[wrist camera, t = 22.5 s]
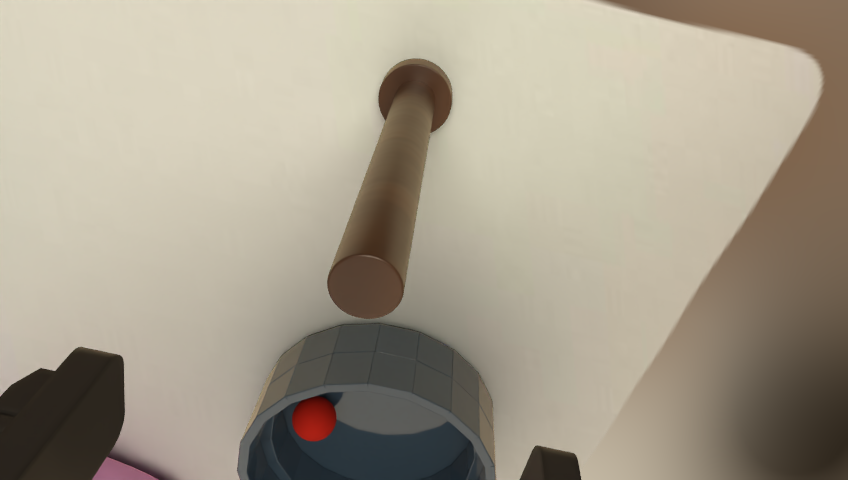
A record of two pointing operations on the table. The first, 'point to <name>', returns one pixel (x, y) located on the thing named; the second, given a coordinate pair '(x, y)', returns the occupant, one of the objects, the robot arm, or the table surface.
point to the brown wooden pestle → (390, 193)
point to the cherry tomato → (314, 418)
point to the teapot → (120, 472)
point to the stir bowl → (373, 411)
